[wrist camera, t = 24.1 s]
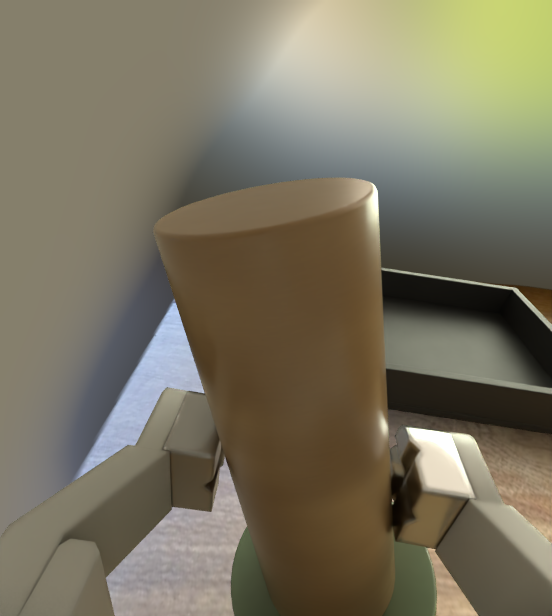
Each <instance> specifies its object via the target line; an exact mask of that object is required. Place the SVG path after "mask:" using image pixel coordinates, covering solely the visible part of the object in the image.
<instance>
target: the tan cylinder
mask: <svg viewBox="0 0 552 616" xmlns="http://www.w3.org/2000/svg"><path fill="white" fill-rule="evenodd" d="M153 233H154V236H155V239H156V242H157V245H158V248H159V251H160V255H161V258H162V261H163V264H164V267H165V270H166V273H167V276H168V280H169V283H170V286H171V289H172V292H173V295H174V298H175V301H176V305H177V308H178V311H179V314H180V317H181V320H182V323H183V326H184V330H185V333H186V336H187V339H188V342H189V345H190V348H191V352H192V355H193V358H194V361H195V364H196V367H197V370H198V373H199V377H200V380H201V383H202V386H203V389H204V392H205V395H206V398H207V402H208V405H209V408H210V411H211V414H212V417H213V420H214V423H215V427H216V430H217V433H218V436H219V439H220V442H221V445H222V448H223V452H224V455H225V458H226V461H227V464H228V467H229V470H230V473H231V477H232V480H233V483H234V486H235V489H236V492H237V495H238V498H239V502H240V505H241V508H242V511H243V514H244V517H245V520H246V524H247V527H246V529H245V531H244V533H243V535H242V537H241V539H240V542H239V545H238V547H237V550H236V553H235V558H234V562H233V566H232V575H231V598H232V606H233V611H234V615H235V616H436V604H437V590H436V578H435V573H434V568H433V564H432V561H431V558H430V555H429V552H428V549H427V548H426V547H421V546H416V545H411V544H405V543H400V542H395V537H394V531H393V520H392V505H393V502H392V492H391V470H390V448H389V427H388V405H387V384H386V362H385V341H384V319H383V298H382V276H381V255H380V233H379V212H378V191H377V189H376V187H375V185H374V184H372V183H370V182H368V181H364V180H360V179H353V178H318V179H305V180H296V181H288V182H281V183H274V184H268V185H263V186H257V187H253V188H247V189H243V190H238V191H234V192H230V193H226V194H222V195H218V196H215V197H211V198H208V199H204V200H201V201H198V202H195V203H192V204H189V205H187V206H185V207H182V208H180V209H177V210H175V211H173V212H171V213H169V214H168V215H166V216H164V217H163V218H161V219H160V220H159V221H157V222H156V224H155V225H154V230H153Z"/></svg>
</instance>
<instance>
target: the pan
mask: <svg viewBox="0 0 552 616" xmlns="http://www.w3.org/2000/svg"><path fill="white" fill-rule="evenodd" d="M381 276H382V298H383V319H384V341H385V362H386V384H387V405H388V409H395V410H401V411H407V412H414V413H420V414H426V415H433V416H439V417H445V418H452V419H458V420H464V421H471V422H477V423H484V424H490V425H496V426H503V427H509V428H515V429H522V430H528V431H534V432H541V433H547V434H552V324H551V323H550V322H549V321H548V320H547V319H546V318H545V317H544V316H543V315H542V314H541V313H540V312H539V311H538V310H537V309H536V308H535V307H534V306H533V305H532V304H531V303H530V302H529V301H528V300H527V299H526V298H525V297H524V296H523V295H522V293H521V292H520V291H519V290H518V289H517V288H512V287H505V286H499V285H492V284H485V283H479V282H472V281H465V280H459V279H452V278H446V277H439V276H432V275H425V274H419V273H412V272H406V271H399V270H393V269H386V268H381Z"/></svg>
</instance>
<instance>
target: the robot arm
mask: <svg viewBox="0 0 552 616" xmlns="http://www.w3.org/2000/svg"><path fill="white" fill-rule="evenodd" d="M395 438H396V443H397V445H395V446H394V447H392V448H390V470H391V492H392V499H393V500H394V502H393V505H392V520H393V531H394V537H395V542H400V543H405V544H411V545H416V546H421V547H426V548H432V549H436V551H435V552H436V554H437V555H438V556H439V558H440V559H441V561H442V562H443V564H444V565H445V567H446V568H447V570H448V571H449V573H450V574H451V576H452V577H453V579H454V580H455V581H456V583H457V584H458V586H459V587H460V589H461V590H462V592H463V593H464V595H465V596H466V598H467V599H468V601H469V602H470V604H471V605H472V606H473V608H474V609H475V611H476V612H477V614H478V615H479V616H552V543H551V542H550V541H549V540H547V539H546V538H545V537H544V536H543V535H542V534H541V533H540V532H539V531H538V530H537V529H536V528H535V527H534V526H533V525H532V524H531V523H529V522H528V521H527V520H526V519H525V518H524V517H523V516H522V515H521V514H520V513H519V512H518V511H517V510H516V509H515V508H514V507H513V506H510V505H505V504H504V502H503V500H502V498H501V496H500V494H499V492H498V489H497V487H496V485H495V483H494V481H493V478H492V476H491V474H490V472H489V470H488V467H487V465H486V463H485V461H484V459H483V457H482V454H481V452H480V450H479V448H478V446H477V443H476V441H475V439H474V438H473V437H472V436H471V435H469V434H462V433H455V432H448V431H447V432H445V431H442V430H435V429H428V428H421V427H414V426H407V425H401V426H400V427H399V428H398V430H397V432H396V435H395ZM224 459H225V455H224V452H223V448H222V445H221V442H220V439H219V436H218V433H217V430H216V427H215V423H214V420H213V417H212V414H211V411H210V408H209V405H208V402H207V398H206V395H205V394H204V393H198V392H192V391H185V390H179V389H174V388H168V387H167V388H166V389H165V390H164V391H163V392H162V394H161V396H160V397H159V399H158V401H157V403H156V405H155V407H154V409H153V411H152V413H151V415H150V417H149V419H148V421H147V423H146V425H145V427H144V429H143V431H142V433H141V435H140V437H139V439H138V441H137V443H136V445H135V446H133V445H127V446H126V447H124V448H123V449H121V450H120V451H118V452H117V453H115V454H114V455H112V456H111V457H109V458H108V459H106V460H105V461H104V462H102V463H101V464H99V465H98V466H96V467H95V468H93V469H92V470H90V471H89V472H87V473H86V474H84V475H83V476H81V477H80V478H78V479H77V480H75V481H74V482H72V483H71V484H69V485H68V486H66V487H65V488H63V489H62V490H60V491H59V492H57V493H56V494H55V495H53V496H52V497H50V498H49V499H47V500H46V501H44V502H43V503H41V504H40V505H38V506H37V507H35V508H34V509H32V510H31V511H29V512H28V513H26V514H25V515H23V516H22V517H20V518H19V519H17V520H16V521H14V522H13V523H12V524H10V525H9V526H8V527H7V529H6V530H5V532H4V533H3V534H2V536H1V537H0V616H115V615H114V611H113V607H112V602H111V598H110V594H109V590H108V586H107V581H106V577H107V576H108V575H109V574H110V573H111V572H112V571H113V570H114V569H115V568H116V567H117V566H118V565H119V563H120V562H121V561H122V560H123V559H124V558H125V557H126V556H127V555H128V554H129V553H130V552H131V551H132V550H133V549H134V548H135V547H136V546H137V545H138V544H139V543H140V542H141V541H142V540H143V539H144V538H145V537H146V536H147V535H148V534H149V532H150V531H151V530H152V529H153V528H154V527H155V526H156V525H157V524H158V523H159V522H160V521H161V520H162V519H163V518H164V517H165V516H166V515H167V514H168V513H169V512H170V511H171V510H172V507H178V508H185V509H193V510H200V511H208V512H211V511H212V507H213V503H214V499H215V495H216V491H217V487H218V484H219V472H220V467H221V466H223V463H224Z"/></svg>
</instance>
